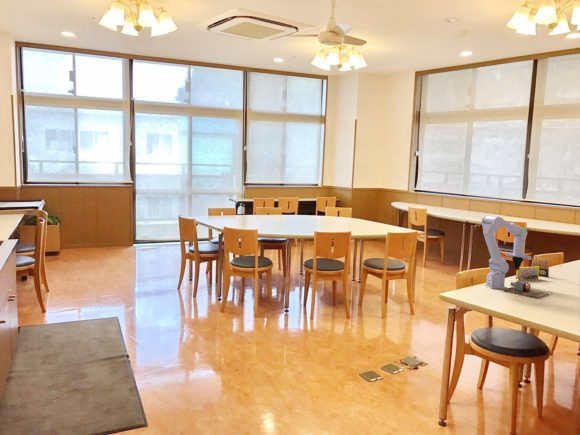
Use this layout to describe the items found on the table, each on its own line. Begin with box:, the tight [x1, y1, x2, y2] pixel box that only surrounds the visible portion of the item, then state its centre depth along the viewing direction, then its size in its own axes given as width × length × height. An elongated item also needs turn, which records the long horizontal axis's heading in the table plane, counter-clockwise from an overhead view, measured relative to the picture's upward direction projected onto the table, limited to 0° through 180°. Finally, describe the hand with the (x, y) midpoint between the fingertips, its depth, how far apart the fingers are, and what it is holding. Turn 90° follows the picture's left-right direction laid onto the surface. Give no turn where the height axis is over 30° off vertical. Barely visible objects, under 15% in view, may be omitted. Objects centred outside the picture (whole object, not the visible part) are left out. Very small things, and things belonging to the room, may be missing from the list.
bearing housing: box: [514, 280, 529, 292], centre depth 271 cm, size 4×7×5 cm, turn 131°
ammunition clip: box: [530, 256, 550, 278], centre depth 313 cm, size 11×2×12 cm, turn 49°
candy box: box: [515, 266, 540, 280], centre depth 302 cm, size 16×2×8 cm, turn 105°
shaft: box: [510, 281, 532, 291], centre depth 272 cm, size 10×4×4 cm, turn 41°
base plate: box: [503, 286, 549, 300], centre depth 269 cm, size 19×14×1 cm
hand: (517, 269), depth 287 cm, fingers closed
